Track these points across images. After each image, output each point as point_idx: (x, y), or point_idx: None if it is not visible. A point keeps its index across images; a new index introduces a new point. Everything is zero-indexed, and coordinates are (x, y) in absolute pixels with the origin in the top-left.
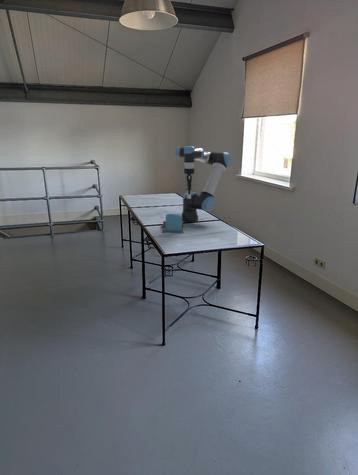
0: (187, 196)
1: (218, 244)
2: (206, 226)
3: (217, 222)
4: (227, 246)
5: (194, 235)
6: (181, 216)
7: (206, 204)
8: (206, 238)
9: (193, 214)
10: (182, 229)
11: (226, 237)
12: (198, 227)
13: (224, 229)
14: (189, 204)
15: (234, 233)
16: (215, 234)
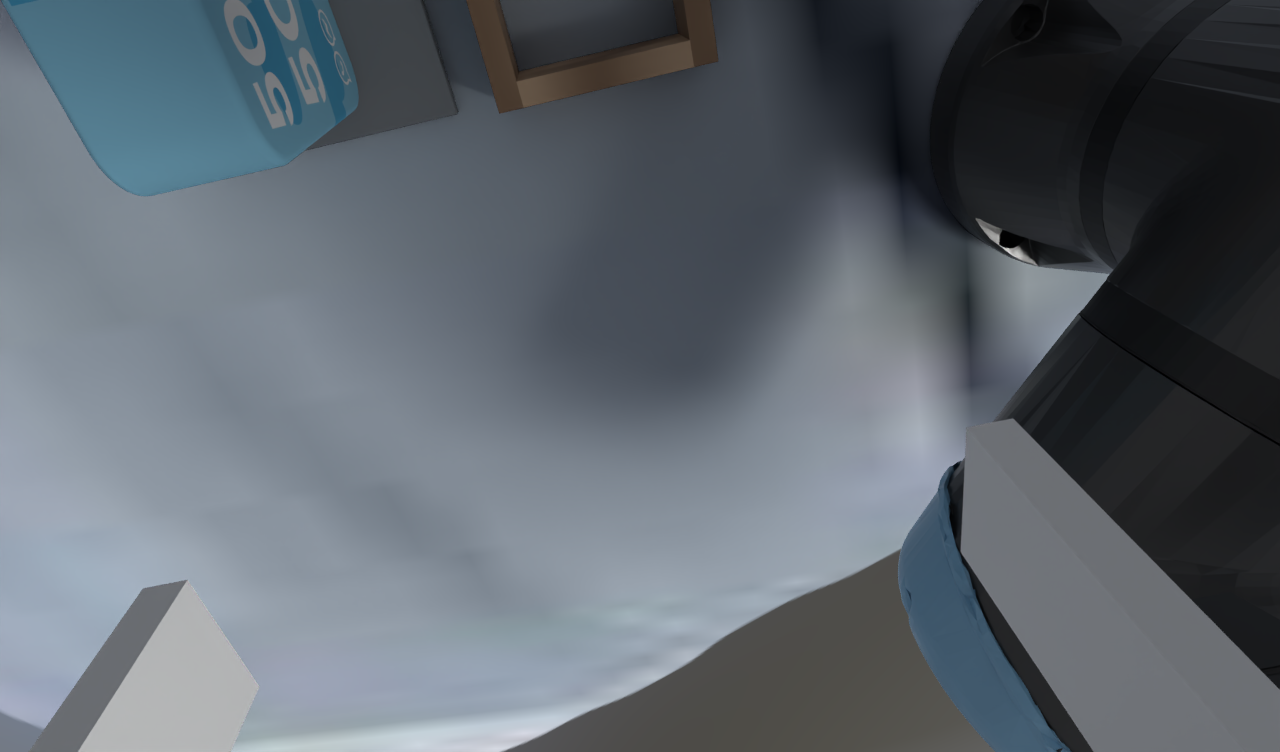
0: (89, 671)
1: (13, 638)
2: (709, 415)
3: (927, 501)
4: (10, 708)
5: (196, 349)
6: (129, 191)
7: (913, 631)
8: (155, 503)
9: (1035, 227)
10: (378, 117)
11: (320, 661)
12: (630, 327)
13: (626, 605)
14: (1185, 211)
15: (503, 697)
16: (380, 560)
